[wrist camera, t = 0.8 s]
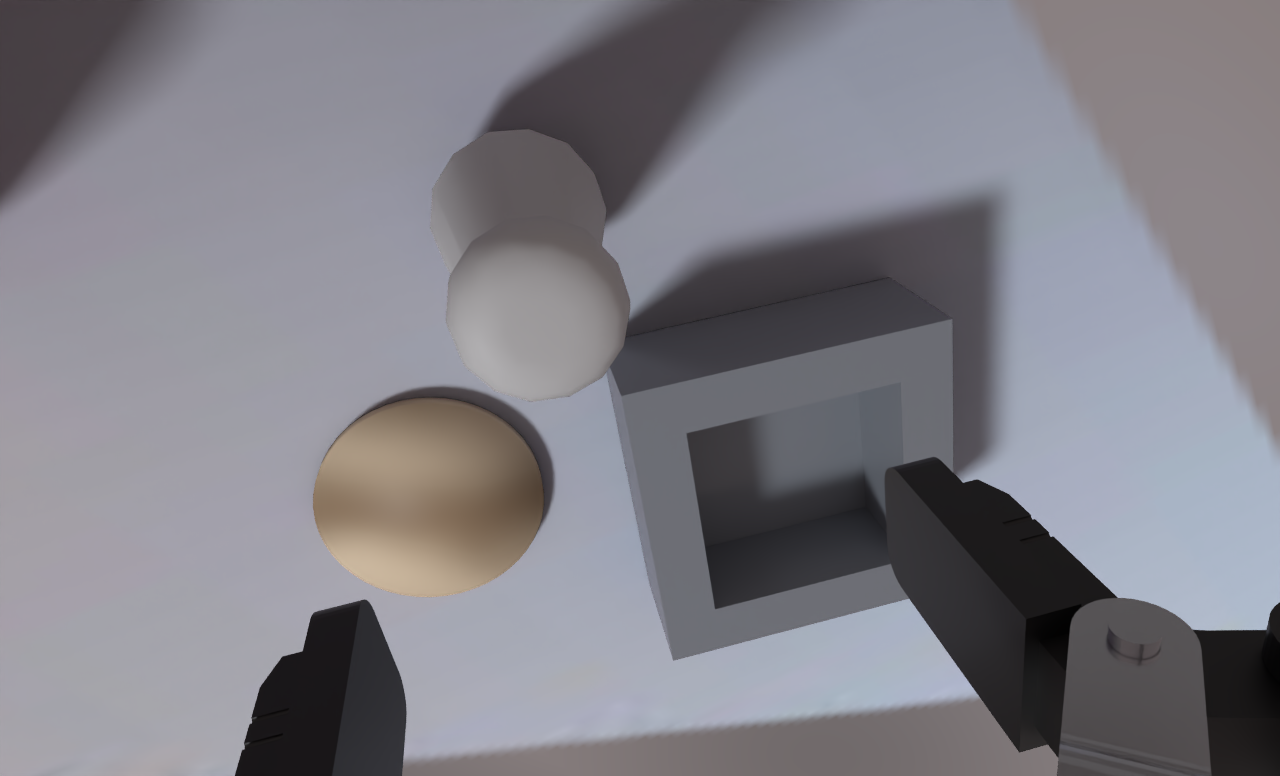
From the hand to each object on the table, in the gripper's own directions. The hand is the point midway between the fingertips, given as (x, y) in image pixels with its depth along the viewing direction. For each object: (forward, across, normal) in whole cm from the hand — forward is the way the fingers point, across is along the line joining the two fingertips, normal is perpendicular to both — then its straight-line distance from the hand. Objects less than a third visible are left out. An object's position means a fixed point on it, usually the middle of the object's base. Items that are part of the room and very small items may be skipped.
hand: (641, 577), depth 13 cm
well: (+20, -7, +11) cm, 24 cm away
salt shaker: (+21, +1, -1) cm, 21 cm away
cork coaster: (+20, +7, +10) cm, 24 cm away
